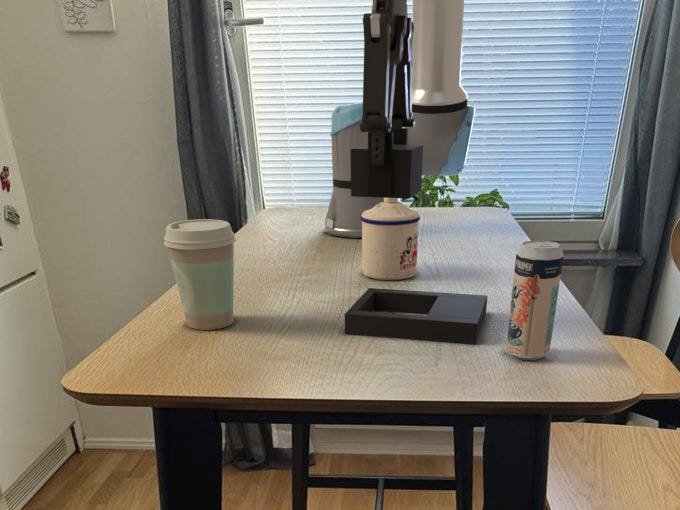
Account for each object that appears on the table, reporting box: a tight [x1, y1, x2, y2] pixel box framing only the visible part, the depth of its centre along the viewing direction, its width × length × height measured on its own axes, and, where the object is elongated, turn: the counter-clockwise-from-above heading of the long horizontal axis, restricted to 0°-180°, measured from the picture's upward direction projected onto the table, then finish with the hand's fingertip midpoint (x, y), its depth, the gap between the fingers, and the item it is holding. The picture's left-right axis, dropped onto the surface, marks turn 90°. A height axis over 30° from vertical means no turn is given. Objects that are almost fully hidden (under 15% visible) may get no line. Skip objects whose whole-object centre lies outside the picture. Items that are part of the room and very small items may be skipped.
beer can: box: [505, 239, 564, 361], centre depth 72 cm, size 5×5×12 cm
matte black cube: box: [351, 144, 423, 200], centre depth 78 cm, size 7×7×5 cm
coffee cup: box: [163, 218, 237, 331], centre depth 83 cm, size 8×9×12 cm
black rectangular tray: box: [344, 287, 488, 345], centre depth 85 cm, size 12×16×2 cm
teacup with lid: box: [361, 198, 421, 281], centre depth 105 cm, size 12×9×12 cm
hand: (387, 191), depth 80 cm, fingers closed on matte black cube, 7 cm apart
